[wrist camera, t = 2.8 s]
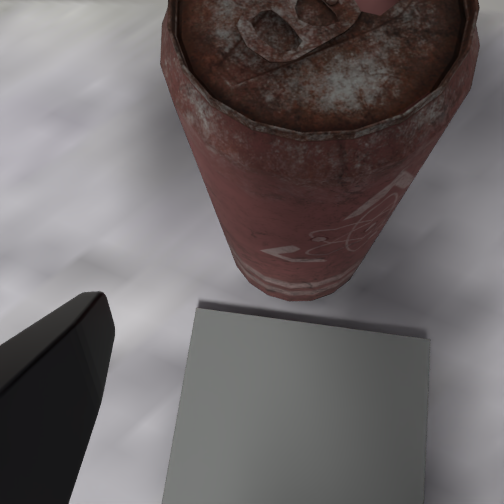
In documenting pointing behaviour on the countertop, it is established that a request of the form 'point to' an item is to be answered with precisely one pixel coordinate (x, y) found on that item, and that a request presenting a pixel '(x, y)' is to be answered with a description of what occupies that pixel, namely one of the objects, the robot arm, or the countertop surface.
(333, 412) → the mat
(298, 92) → the can
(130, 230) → the countertop surface
